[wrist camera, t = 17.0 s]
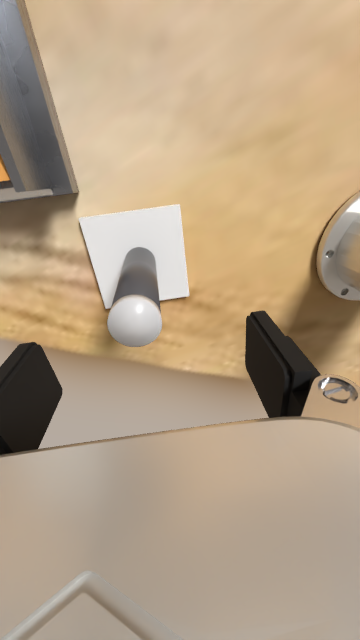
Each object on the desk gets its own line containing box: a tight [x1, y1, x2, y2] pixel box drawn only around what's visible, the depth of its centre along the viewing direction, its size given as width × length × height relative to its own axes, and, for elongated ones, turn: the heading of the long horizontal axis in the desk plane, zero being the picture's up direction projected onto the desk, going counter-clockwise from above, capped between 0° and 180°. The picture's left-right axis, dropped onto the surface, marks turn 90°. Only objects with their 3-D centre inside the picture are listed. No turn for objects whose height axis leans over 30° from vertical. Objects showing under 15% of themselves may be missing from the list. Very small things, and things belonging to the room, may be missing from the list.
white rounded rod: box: [107, 247, 162, 347], centre depth 19 cm, size 3×3×12 cm
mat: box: [79, 204, 189, 309], centre depth 24 cm, size 9×9×1 cm
